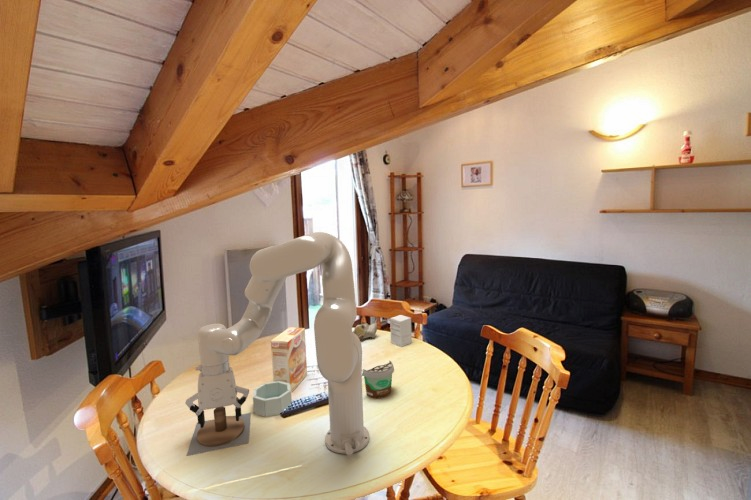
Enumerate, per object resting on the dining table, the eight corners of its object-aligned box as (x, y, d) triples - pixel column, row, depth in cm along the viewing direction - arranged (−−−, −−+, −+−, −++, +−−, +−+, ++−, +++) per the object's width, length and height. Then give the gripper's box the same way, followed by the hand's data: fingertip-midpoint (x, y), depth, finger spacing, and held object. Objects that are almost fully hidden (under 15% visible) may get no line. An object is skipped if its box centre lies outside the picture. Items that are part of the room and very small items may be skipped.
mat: (248, 445, 102) (248, 443, 102) (186, 457, 98) (186, 455, 98) (251, 414, 118) (250, 412, 118) (197, 424, 113) (196, 422, 113)
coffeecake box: (291, 394, 130) (287, 341, 127) (273, 392, 131) (269, 340, 129) (308, 374, 144) (305, 327, 142) (291, 373, 146) (288, 326, 143)
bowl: (292, 413, 118) (291, 395, 117) (253, 420, 114) (252, 402, 113) (290, 395, 129) (289, 379, 128) (255, 401, 126) (253, 384, 125)
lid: (243, 440, 103) (241, 417, 103) (193, 451, 100) (191, 426, 99) (245, 416, 116) (243, 394, 115) (201, 424, 112) (199, 402, 111)
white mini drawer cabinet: (401, 339, 179) (400, 314, 177) (412, 343, 173) (411, 317, 172) (390, 343, 174) (389, 317, 173) (401, 347, 169) (400, 321, 167)
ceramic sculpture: (379, 322, 177) (349, 328, 173) (381, 339, 178) (351, 345, 175) (373, 316, 188) (345, 322, 184) (375, 332, 189) (347, 338, 185)
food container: (372, 404, 121) (371, 376, 120) (363, 396, 126) (361, 369, 125) (401, 392, 128) (401, 365, 127) (391, 385, 133) (390, 360, 132)
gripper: (179, 377, 99) (185, 435, 101) (246, 367, 104) (250, 423, 106) (185, 366, 106) (190, 420, 108) (247, 357, 111) (251, 409, 113)
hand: (220, 421), depth 107 cm, fingers open, 9 cm apart
